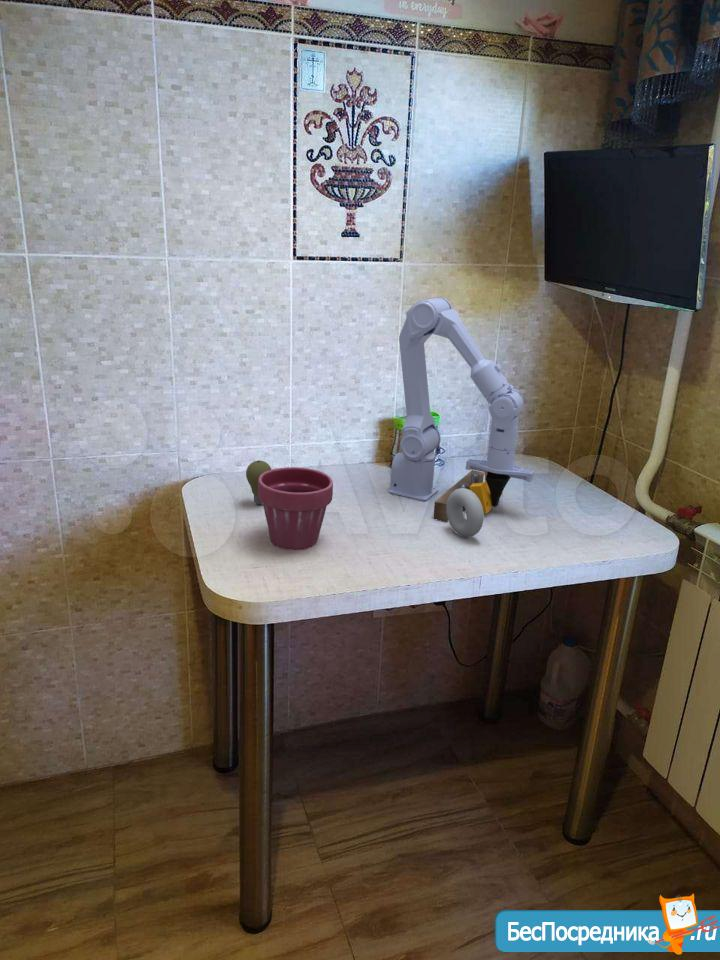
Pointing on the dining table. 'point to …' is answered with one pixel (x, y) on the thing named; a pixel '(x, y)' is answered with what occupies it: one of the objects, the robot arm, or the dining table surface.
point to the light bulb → (256, 476)
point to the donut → (473, 512)
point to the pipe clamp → (483, 494)
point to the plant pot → (294, 505)
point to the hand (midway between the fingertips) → (495, 505)
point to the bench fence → (463, 483)
